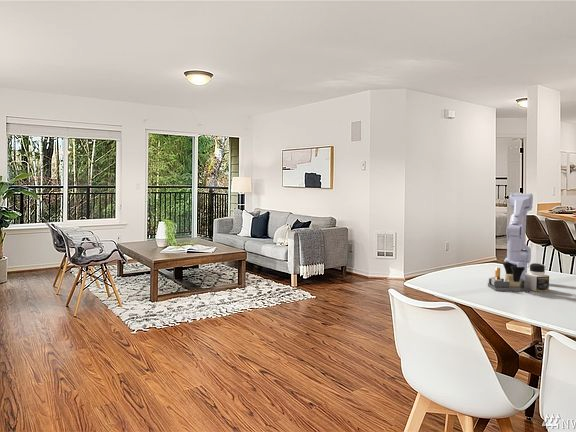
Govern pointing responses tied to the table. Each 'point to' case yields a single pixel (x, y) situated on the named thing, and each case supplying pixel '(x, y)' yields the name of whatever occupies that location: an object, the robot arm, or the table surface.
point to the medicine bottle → (537, 278)
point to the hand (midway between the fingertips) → (512, 279)
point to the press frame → (505, 286)
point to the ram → (496, 276)
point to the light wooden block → (511, 280)
